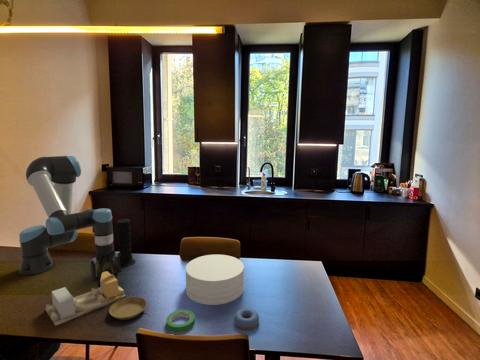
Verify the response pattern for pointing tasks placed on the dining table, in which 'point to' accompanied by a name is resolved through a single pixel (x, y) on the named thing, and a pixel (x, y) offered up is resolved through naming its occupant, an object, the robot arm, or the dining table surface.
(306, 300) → the dining table surface
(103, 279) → the tan rectangular block
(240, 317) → the doughnut
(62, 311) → the grey bar
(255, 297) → the dining table surface
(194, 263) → the plate stack
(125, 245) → the handle grip
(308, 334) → the dining table surface
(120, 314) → the plant saucer
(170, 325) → the tape roll
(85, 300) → the rack
